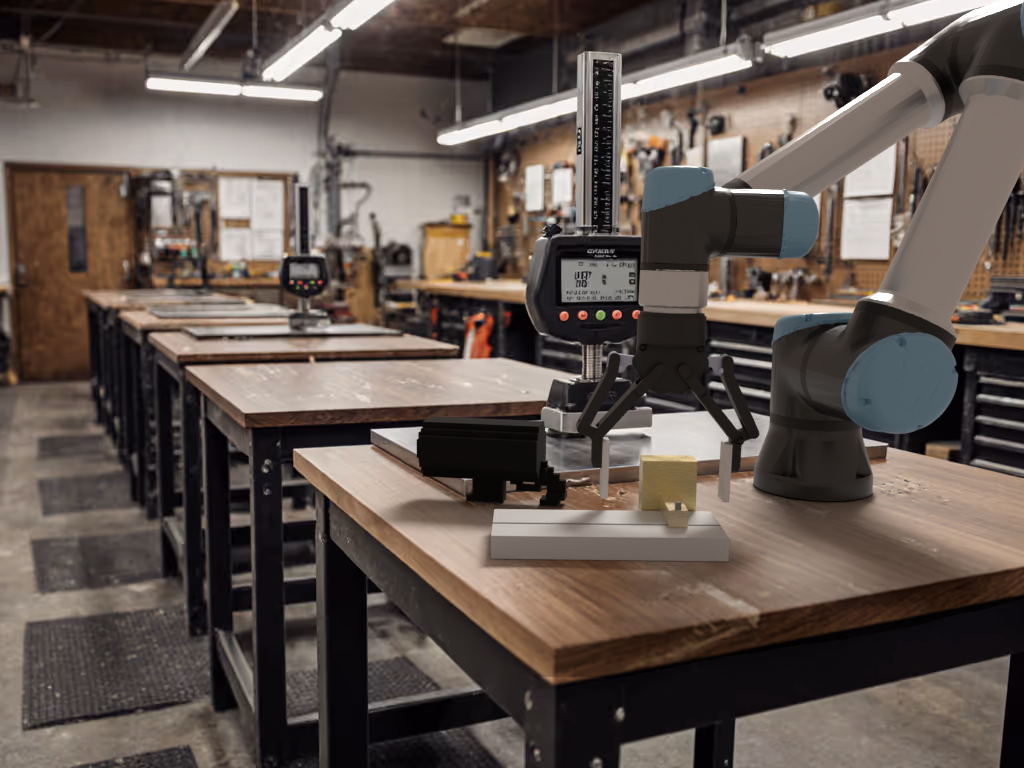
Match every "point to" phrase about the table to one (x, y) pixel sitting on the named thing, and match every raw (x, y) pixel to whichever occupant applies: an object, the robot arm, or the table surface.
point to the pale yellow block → (668, 487)
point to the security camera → (490, 457)
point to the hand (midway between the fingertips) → (663, 497)
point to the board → (605, 536)
